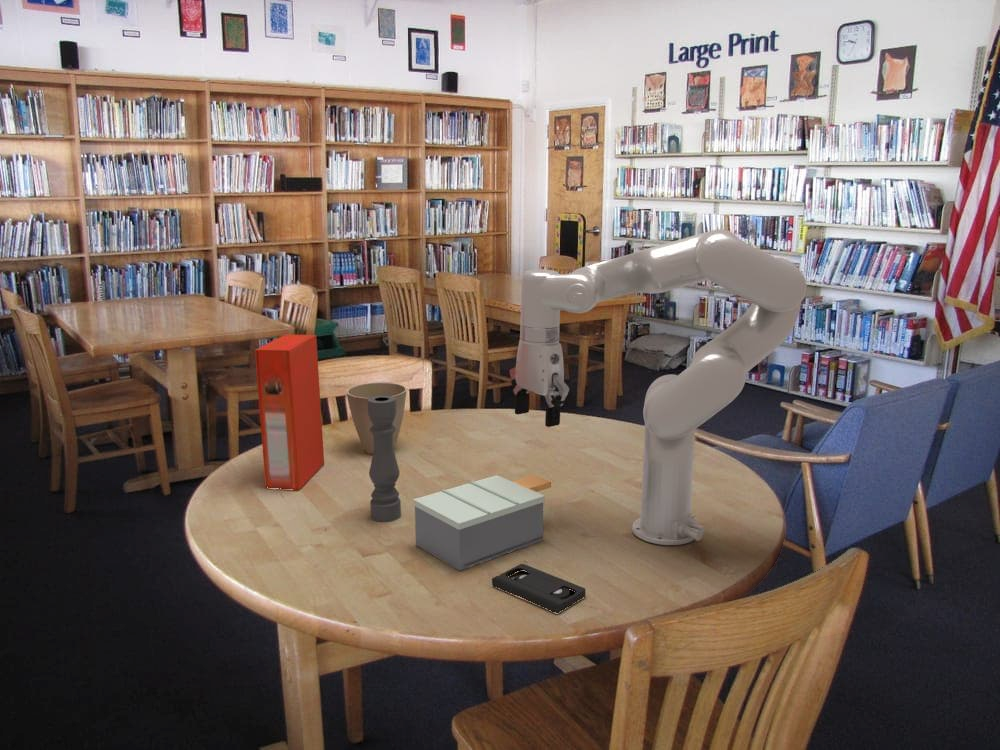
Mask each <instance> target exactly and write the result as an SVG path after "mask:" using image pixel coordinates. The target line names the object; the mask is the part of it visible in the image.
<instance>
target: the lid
mask: <svg viewBox="0 0 1000 750" xmlns="http://www.w3.org/2000/svg"><path fill="white" fill-rule="evenodd" d="M550 488H552V481H550V480H548V479H545V478H543V477H540V476H539V475H536V474H532V475H529V476H527V477H522V478H519V479H516V480H509V479H507V478H505V477H502V476H501V475H500V476H499V475H498V474H496V475H493V476H490V477H487V478H482V479H479V480H475V481H472V480H470V481H469V483H465V484H461V485H458V486H454V487H451V488H448V489H444V488H443V489H441V491H437V492H434V493H431V494H427V495H423V496H419V497H417V498H413V499H412V503H413V504H412V505H413V506H414V508H415V507H417V508H419V509H421V510H423V511H425V512H427V513H428V514H430V515H432V516H434V517H436V518H438V519H440V520H442V521H443V522H445V523H447V524H449V525H451V526H453V527H455V528H456V529H458V530H460V529H463V528H466V527H469V526H472V525H475V524H478V523H481V522H484V521H487V520H491V519H494V518H497V517H500V516H503V515H506V514H509V513H512V512H515V511H518V510H521V509H524V508H527V507H530V506H533V505H536V504H539V503H542V502H543V503H545V502H546V496H545V495H544V494H542V493H540V492H541V491H543V490H547V489H550Z"/></svg>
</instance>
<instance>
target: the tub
mask: <svg viewBox="0 0 1000 750" xmlns="http://www.w3.org/2000/svg"><path fill="white" fill-rule="evenodd" d="M414 526H415V527H414V528H415V546H417V547H419V548H420V549H422V550H423V551H425V552H427V553H428V554H430V555H433V556H434V557H435V558H437V559H439V560H440V561H442V562H444V563H445V562H446V563H445V564H447V565H449V566H451V567H452V568H453V569H456V570H458V571H459V572H461V571H464V570H466V569H465V568H467V569H469V568H471V567H470V566H472V567H474V566H473V565H475V564H478V563H480V564H482V563H481V562H483V563H485V562H484V561H486V562H488V561H487V560H489V559H491V560H493V559H492V558H494V559H496V558H495V557H497V558H499V557H498V556H500V555H502V556H504V555H503V554H505V555H507V554H506V553H508V552H510V553H512V552H511V551H513V552H515V550H516V551H518V550H517V549H519V550H521V549H524V548H526V547H529V545H530V546H532V545H534V544H538V543H540V542H543V541H544V502H542V503H539V504H536V505H533V506H530V507H527V508H524V509H521V510H518V511H515V512H512V513H509V514H506V515H503V516H500V517H497V518H494V519H491V520H487V521H484V522H481V523H478V524H475V525H472V526H469V527H466V528H463V529H460V530H458V529H456V528H455V527H453V526H451V525H449V524H447V523H445V522H443V521H442V520H440V519H438V518H436V517H434V516H432V515H430V514H428V513H427V512H425V511H423V510H421V509H419V508H417V507H415V506H414ZM523 547H524V548H523ZM520 548H521V549H520ZM508 554H509V553H508ZM500 557H501V556H500ZM489 561H490V560H489ZM478 565H479V564H478ZM475 566H476V565H475ZM468 567H469V568H468ZM463 569H464V570H463ZM460 570H461V571H460Z"/></svg>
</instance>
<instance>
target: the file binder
mask: <svg viewBox="0 0 1000 750" xmlns="http://www.w3.org/2000/svg"><path fill="white" fill-rule="evenodd" d="M254 357H255V360H254V361H255V370H256V371H255V372H256V383H257V396H258V397H257V398H258V406H259V407H258V408H259V409H258V410H259V422H260V433H261V445H262V446H261V447H262V458H263V471H264V482H265V489H267V487H268V488H279V489H280V488H281V489H293V490H297V491H298V490H299V491H300V490H301V489H302V487H304V486H305V485H306V484H307V482H308V481H309V480H310V479H311V478H312V477H314V475H315V474H317V472H318V471H319V470H320V469H321V468H322V467H323V466H324V465H325V456H324V455H325V454H324V440H323V424H322V409H321V406H322V405H321V404H322V403H321V391H320V388H321V387H320V375H319V373H320V371H319V360H318V359H319V358H318V357H319V356H318V342H317V335H316V334H283V335H282V336H280V337H278V338H276V339H274V340H272V341H270V342H268V343H266V344H264V345H262V346H260V347H259V348H255V350H254Z"/></svg>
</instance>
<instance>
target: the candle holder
mask: <svg viewBox="0 0 1000 750" xmlns="http://www.w3.org/2000/svg"><path fill="white" fill-rule="evenodd" d="M367 401H368V416H369V417H370V420H371V421H372V424H373V426H372V427H371V428H370V432H371V433H372V434H373V437H374V451H373V454H372V457H371V462H370V467H369V471H368V472H369V473H368V475H369V478H370V480H371V482H372V483H373V486H374V490H373V491H372V493H371V495H370V496H371V500H370V501H369V506H370V508H369V509H370V518H371V519H372V520H373V521H376V522H378V523H381V522H383V523H387V522H393V521H396V520H398V519H400V518H401V516H402V506H401V505H402V504H401V503H402V502H401V499H400V493H399V490H397V488H396V484H397V482H398V479H399V478H400V472H401V471H400V469H399V465H398V460H397V458H396V454H395V450H394V449H395V448H394V449H393V434H394V432H395V431H396V427H395V426H394V425H392V423H393V421H394V419H395V415H396V414H397V411H396V398H395V397H393V396H374V397H371V398H368V400H367Z"/></svg>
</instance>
